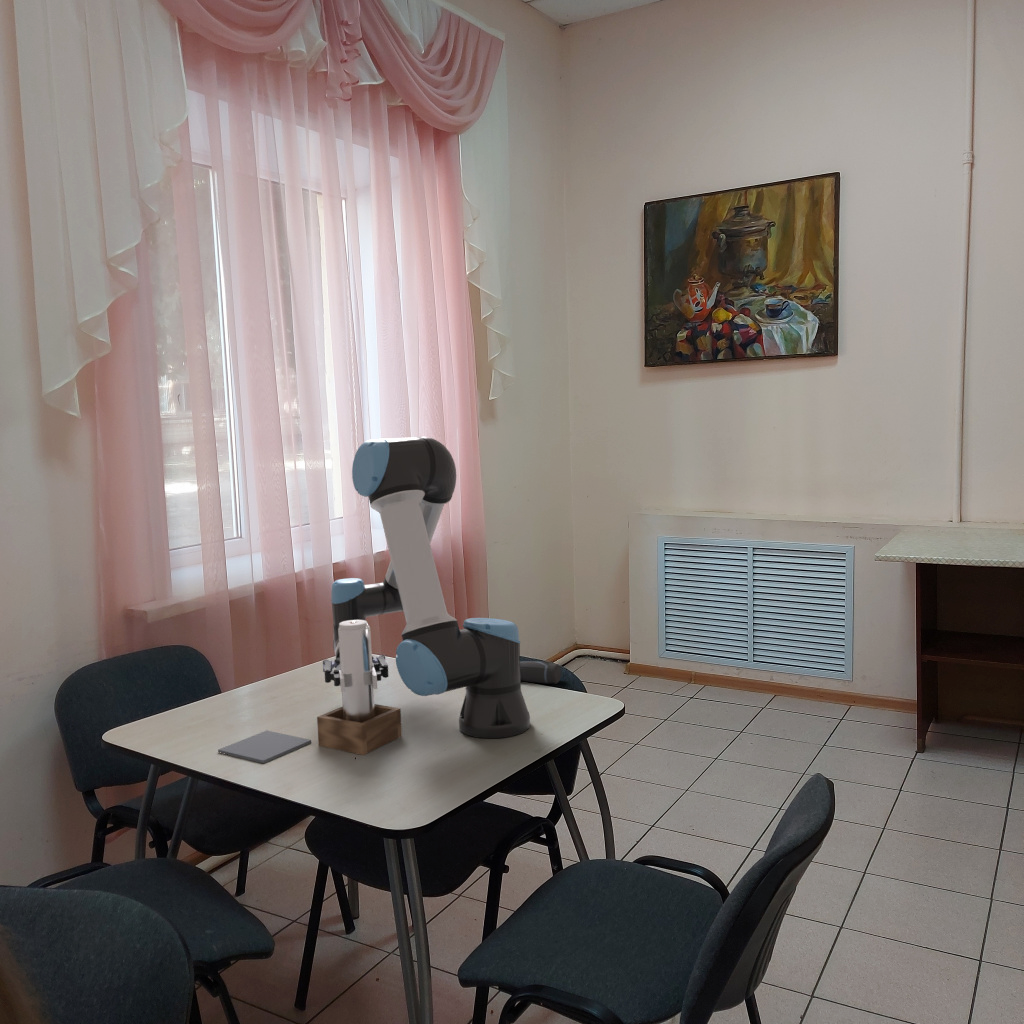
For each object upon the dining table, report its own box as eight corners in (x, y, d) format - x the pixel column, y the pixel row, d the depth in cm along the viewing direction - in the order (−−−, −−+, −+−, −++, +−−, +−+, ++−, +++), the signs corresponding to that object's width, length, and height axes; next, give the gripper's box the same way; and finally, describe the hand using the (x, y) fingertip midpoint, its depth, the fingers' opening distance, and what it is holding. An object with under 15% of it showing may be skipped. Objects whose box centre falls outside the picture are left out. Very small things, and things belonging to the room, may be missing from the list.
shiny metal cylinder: (370, 747, 185) (363, 625, 183) (339, 745, 187) (332, 625, 184) (380, 736, 192) (374, 618, 189) (351, 734, 193) (344, 618, 190)
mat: (311, 742, 189) (311, 739, 189) (263, 763, 178) (263, 760, 178) (266, 733, 196) (266, 730, 196) (218, 752, 185) (218, 749, 185)
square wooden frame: (401, 736, 191) (400, 708, 190) (363, 755, 181) (361, 725, 180) (358, 728, 197) (356, 700, 197) (318, 745, 187) (317, 716, 187)
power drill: (538, 699, 215) (462, 692, 223) (566, 678, 232) (494, 672, 240) (537, 677, 215) (461, 670, 223) (565, 657, 232) (494, 652, 240)
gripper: (395, 668, 208) (406, 697, 185) (310, 676, 204) (312, 706, 181) (393, 636, 207) (405, 661, 184) (309, 642, 203) (310, 669, 180)
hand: (359, 683), depth 183 cm, fingers closed on shiny metal cylinder, 6 cm apart
